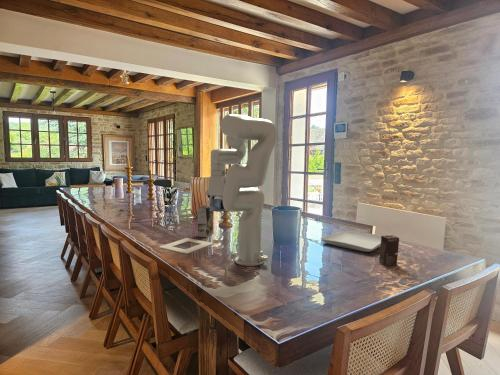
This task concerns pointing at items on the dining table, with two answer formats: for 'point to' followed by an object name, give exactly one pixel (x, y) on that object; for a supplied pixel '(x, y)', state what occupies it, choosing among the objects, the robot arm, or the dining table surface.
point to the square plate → (354, 240)
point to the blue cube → (216, 205)
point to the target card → (189, 250)
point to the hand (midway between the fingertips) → (217, 208)
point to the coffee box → (205, 221)
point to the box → (389, 250)
